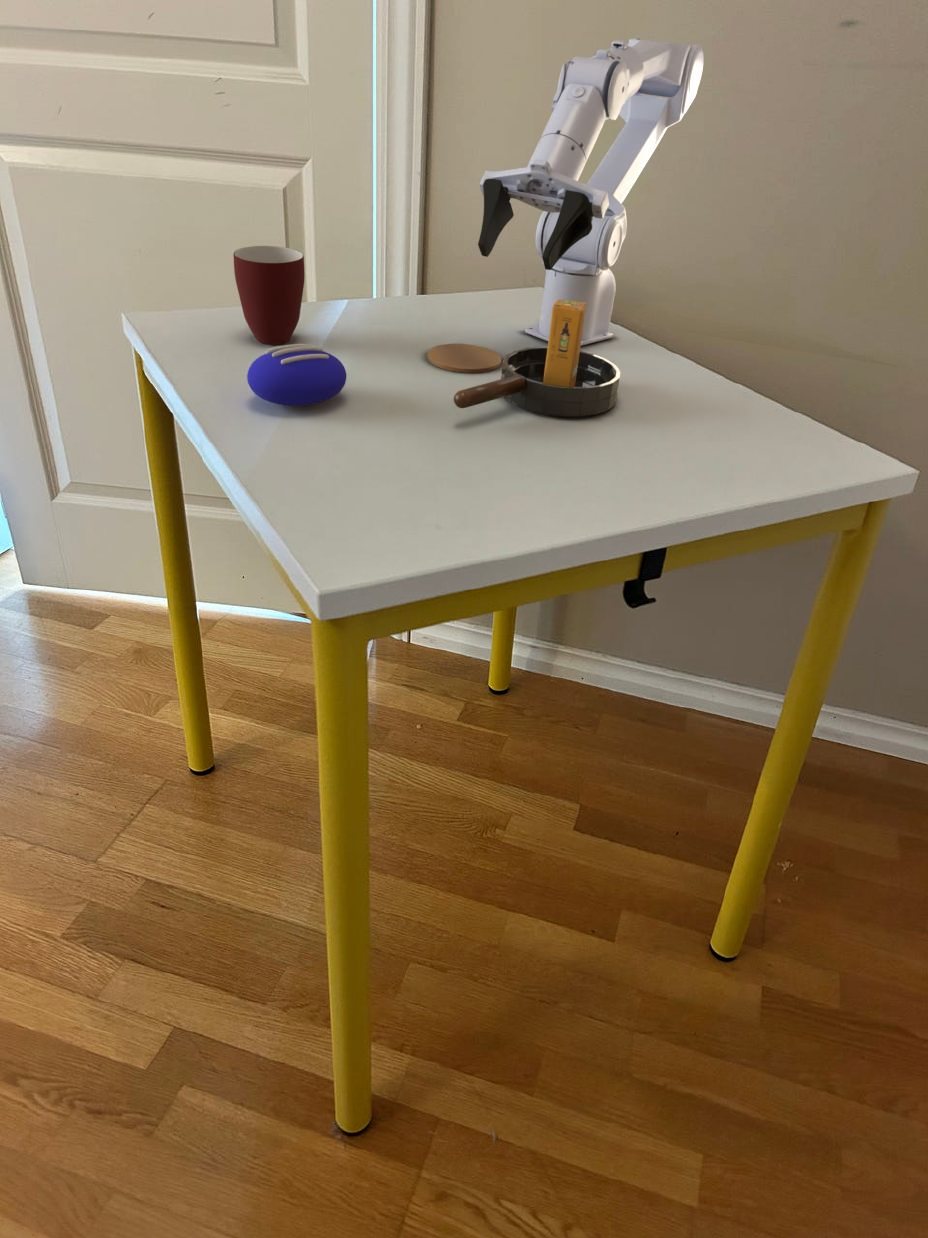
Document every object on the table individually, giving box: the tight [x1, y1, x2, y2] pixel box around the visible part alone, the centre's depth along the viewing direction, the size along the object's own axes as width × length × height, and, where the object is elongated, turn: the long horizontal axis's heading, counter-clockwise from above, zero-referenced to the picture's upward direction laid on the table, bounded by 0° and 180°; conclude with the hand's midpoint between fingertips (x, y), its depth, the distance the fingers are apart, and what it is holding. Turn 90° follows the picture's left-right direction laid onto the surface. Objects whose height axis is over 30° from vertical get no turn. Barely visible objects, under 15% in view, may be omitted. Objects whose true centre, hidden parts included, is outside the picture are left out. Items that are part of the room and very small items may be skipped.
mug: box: [232, 245, 306, 346], centre depth 106 cm, size 11×8×10 cm
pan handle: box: [453, 375, 526, 409], centre depth 92 cm, size 10×2×2 cm, turn 133°
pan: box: [500, 346, 621, 418], centre depth 99 cm, size 13×13×4 cm
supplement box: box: [543, 299, 586, 387], centre depth 97 cm, size 3×3×10 cm
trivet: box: [427, 343, 502, 374], centre depth 107 cm, size 9×9×1 cm
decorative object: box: [246, 343, 347, 407], centre depth 92 cm, size 10×6×10 cm
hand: (514, 256), depth 95 cm, fingers open, 7 cm apart
